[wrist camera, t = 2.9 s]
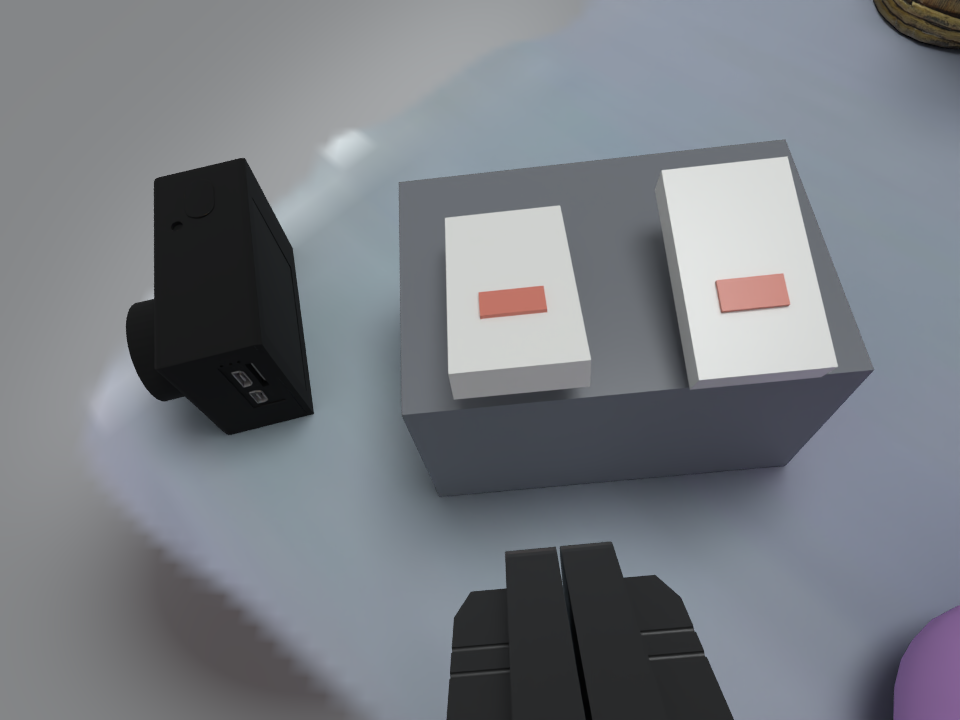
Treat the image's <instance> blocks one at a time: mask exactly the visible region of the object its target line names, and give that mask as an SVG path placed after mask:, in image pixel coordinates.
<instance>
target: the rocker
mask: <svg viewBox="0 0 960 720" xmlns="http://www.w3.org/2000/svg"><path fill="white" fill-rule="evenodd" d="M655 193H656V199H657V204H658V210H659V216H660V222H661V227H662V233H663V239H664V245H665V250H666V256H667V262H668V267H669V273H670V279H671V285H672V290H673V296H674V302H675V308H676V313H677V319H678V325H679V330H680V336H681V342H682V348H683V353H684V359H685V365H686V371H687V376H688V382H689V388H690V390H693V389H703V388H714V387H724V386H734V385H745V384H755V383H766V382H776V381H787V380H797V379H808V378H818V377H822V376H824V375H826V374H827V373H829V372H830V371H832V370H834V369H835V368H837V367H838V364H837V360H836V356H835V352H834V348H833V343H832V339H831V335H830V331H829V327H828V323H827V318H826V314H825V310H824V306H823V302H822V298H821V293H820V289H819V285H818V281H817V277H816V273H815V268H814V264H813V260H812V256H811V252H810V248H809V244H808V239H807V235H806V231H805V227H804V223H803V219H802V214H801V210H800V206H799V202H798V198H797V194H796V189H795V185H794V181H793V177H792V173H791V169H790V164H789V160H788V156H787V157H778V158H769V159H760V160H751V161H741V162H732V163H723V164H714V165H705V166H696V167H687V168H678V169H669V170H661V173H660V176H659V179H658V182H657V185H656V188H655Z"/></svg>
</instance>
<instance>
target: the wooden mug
mask: <svg viewBox="0 0 960 720" xmlns="http://www.w3.org/2000/svg"><path fill="white" fill-rule="evenodd" d="M874 1H875V4H876V6H877V8H878V10H879V12H880V13H881V14H882V15H883V16H884V17H885V18H886V20H888V21H889V22H890V23H891V24H892V25H893V26H894V27H895V28H896V29H897V30H899V31H900V32H901V33H903V34H905V35H908V36H910V37H912V38H914V39H916V40H919V41H921V42H924V43H928V44H932V45H936V46H940V47H945V48H953V49H960V0H874Z"/></svg>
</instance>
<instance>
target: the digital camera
mask: <svg viewBox="0 0 960 720" xmlns="http://www.w3.org/2000/svg"><path fill="white" fill-rule="evenodd" d="M126 335H127V343H128V348H129V352H130V356H131V359H132V362H133V364H134V367H135V369H136V372H137V374H138V376H139V378H140V380H141V381H142V383H143V384H144V386H145V387H146V389H147V390H148V391H149V392H150V393H151V394H152V395H153V396H154V397H155V398H157V399H158V400H161V401H168V400H172V399H176V398H180V397H184V396H185V397H186V398H187V399H189V400H190V401H191V402H192V403H193V404H194V405H195V406H196V407H197V408H198V409H199V410H201V411H202V412H203V413H204V414H205V415H206V416H207V417H208V418H209V419H210V420H212V421H213V422H214V423H215V424H216V425H217V426H218V427H219V428H220V429H221V430H222V431H224V432H225V433H226V434H228V435H232V434H235V433H239V432H243V431H247V430H251V429H255V428H259V427H263V426H267V425H271V424H275V423H279V422H283V421H287V420H291V419H295V418H299V417H303V416H307V415H311V414H314V411H313V403H312V396H311V388H310V380H309V372H308V365H307V357H306V349H305V341H304V334H303V326H302V318H301V310H300V303H299V295H298V287H297V279H296V272H295V264H294V256H293V248H292V246H291V244H290V242H289V241H288V239H287V237H286V235H285V233H284V231H283V229H282V227H281V225H280V224H279V222H278V220H277V218H276V216H275V214H274V212H273V210H272V208H271V206H270V205H269V203H268V201H267V199H266V197H265V195H264V193H263V191H262V189H261V188H260V186H259V184H258V182H257V180H256V178H255V176H254V174H253V173H252V170H251V169H250V167H249V165H248V163H247V161H246V159H245V158H239V159H235V160H231V161H227V162H223V163H219V164H214V165H210V166H206V167H201V168H197V169H193V170H189V171H185V172H180V173H176V174H172V175H167V176H163V177H159V178H156V179H155V181H154V299H152V300H147V301H143V302H139V303H135V304H134V305H132V306H131V308H130V309H129V312H128V315H127V320H126ZM287 389H288V390H287ZM291 394H292V395H291ZM294 398H295V399H294ZM298 403H299V404H298ZM301 407H302V408H301ZM305 412H306V413H305Z"/></svg>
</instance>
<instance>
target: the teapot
mask: <svg viewBox="0 0 960 720" xmlns="http://www.w3.org/2000/svg"><path fill="white" fill-rule="evenodd" d="M893 720H960V606H957V607H955V608H953V609H951V610H949V611H947V612H945V613H943V614H941V615H940V616H938V617H936V618H934V619H932V620H931V621H930V622H929V623H928V624H927V625H926V626H925V627H924V628H923V629H922V630H921V631H920V632H919V633H918V634H917V635H916V636H915V638H914V639H913V640H912V641H911V643H910V645H909V646H908V648H907V650H906V652H905V653H904V655H903V657H902V659H901V661H900V666H899V670H898V674H897V678H896V682H895V686H894V719H893Z"/></svg>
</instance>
